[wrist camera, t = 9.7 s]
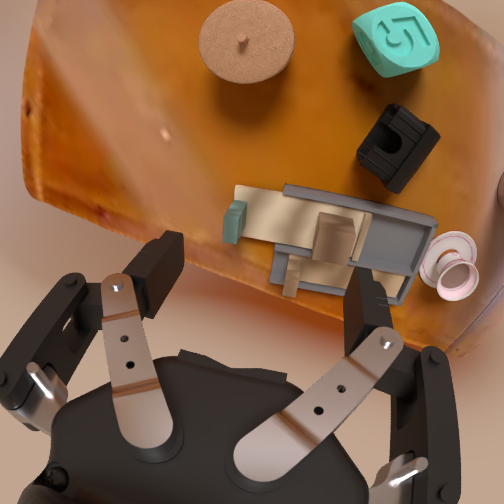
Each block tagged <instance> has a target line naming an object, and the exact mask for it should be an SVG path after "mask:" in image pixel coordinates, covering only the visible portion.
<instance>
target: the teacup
mask: <svg viewBox="0 0 504 504" xmlns="http://www.w3.org/2000/svg"><path fill="white" fill-rule="evenodd" d="M448 249H454V250H456V251H458V253H459V254H458V253H455V252H452V253H448V254H446V255H444V256H443V257H442V258H441V259H440V260H439V262H438V264H437V259H438V257H439V256H440V254H441V253H442V252H444V251H445V250H448ZM476 258H477V247H476V245H475V243H474V241H473V239H472V238H471V237H470V236H469V235H468V234H466V233H463V232H460V231H449V232H446V233H444V234H441V235H439V236H438V237H436V238H435V239H433V240H432V241H431V244H430V246H429V248H428V251H427V253H426V255H425V257H424V260H423V262H422V264H421V266H420V268H419V273H420V277H421V278H422V280H423V281H424V283H426V284H427V285H429V286H430V287H433V288H437V292H438V294H439V295H440V296H441V297H442V298H443V299H445V300H448V301H457V300H461V299H464V298H466V297H467V296H469V295H470V294H471V293H472V292H473V291H474V290H475V288H476V287H477V285H478V281H479V273H478V270H477V269H476V267H475V266H474V265H475V262H476Z"/></svg>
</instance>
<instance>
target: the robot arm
mask: <svg viewBox="0 0 504 504" xmlns="http://www.w3.org/2000/svg"><path fill="white" fill-rule="evenodd" d="M498 199H499V203H500V205H501V207H502V209H503V210H504V174H503V175H502V177H501V180H500V183H499V187H498ZM183 267H184V239H183V234H182V233H180V232H174V231H169V230H167V231H165V232H164V234H163V235H162V236H161V237H160V238H159V239H153V240H152V241H150V242H148V243H146V245H145V246H144V247H143V248H142V249H141V251H140V252H139V253H138V254H137V256H136V257H134V259H133V260H132V261H131V262H130V263H129V264H128V266H127V267H126V268H125V269H124V271H123V272H122V273H116V274H112V275H109V276H107V277H106V278H105V279H104V280H103V281H102V283H86V280H85V277H84V275H82V274H81V273H70V274H67V275H65V276H63V277H62V278H61V279H60V280H59V281H58V282H57V284H56V285H55V286H54V287H53V288H52V289H51V291H50V292H49V293H48V294H47V296H46V297H45V298H44V299H43V300H42V302H41V303H40V304H39V306H38V307H37V308H36V309H35V311H34V312H33V313H32V315H31V316H30V317H29V318H28V320H27V321H26V322H25V324H24V325H23V326H22V328H21V329H20V331H19V332H18V333H17V335H16V336H15V338H14V339H13V340H12V342H11V343H10V345H9V346H8V348H7V349H6V351H5V352H4V354H3V355H2V356H1V358H0V403H1V405H2V406H3V407H4V408H5V409H6V410H7V411H8V412H9V413H10V414H11V415H12V416H13V417H14V418H16V419H17V420H18V421H20V422H21V423H23V424H24V425H25V426H26V427H27V428H28V429H30V430H32V431H42V432H44V433H45V434H48V435H49V436H51V450H50V456H49V461H48V464H47V466H46V468H45V469H44V470H43V472H42V473H41V474H40V475H39V476H38V477H37V478H36V479H35V480H34V481H33V482H32V483H30V484H29V485H28V486H27V487H26V488H25V489H24V490H23V492H22V494H21V496H20V498H19V501H18V503H17V504H457V503H458V501H459V499H460V495H461V458H460V440H459V429H458V419H457V410H456V403H455V396H454V389H453V383H452V377H451V372H450V367H449V362H448V358H447V356H446V355H445V353H444V352H443V351H442V350H440V349H439V348H437V347H434V346H427V347H425V348H424V349H423V350H422V351H421V352H419V351H416V350H414V349H412V348H409V347H407V346H405V345H404V344H403V339H402V337H401V336H400V334H399V333H398V332H396V331H395V330H394V329H393V324H392V318H391V313H390V308H389V307H388V306H389V304H388V300H387V294H386V290H385V288H384V287H383V286H382V284H381V283H380V282H379V281H374V279H373V274H372V270H371V269H369V268H364V267H358V266H355V267H354V269H353V272H352V275H351V278H350V280H349V283H348V286H347V289H346V291H345V295H344V300H343V313H344V342H345V343H344V345H345V346H344V348H345V356H344V357H343V358H342V359H341V360H340V361H339V362H338V363H336V365H334V366H333V367H332V368H331V369H330V370H329V371H328V372H327V373H326V374H325V375H324V376H322V377H321V378H320V379H319V380H318V381H317V382H316V383H315V384H313V385H312V386H311V387H310V388H309V389H308V390H307V391H305V392H303V391H302V390H301V389H300V388H298V387H297V386H295V385H293V384H292V383H289V382H287V381H286V378H287V373H282V372H277V371H272V370H267V369H261V368H230V367H227V366H225V365H223V364H221V363H219V362H217V361H215V360H213V359H211V358H209V357H207V356H205V355H200V354H197V353H193V352H189V351H186V350H182V349H181V350H180V352H179V354H178V356H167V357H161V358H158V359H155V360H152V358H151V354H150V351H149V347H148V343H147V340H146V336H145V333H144V329H143V325H142V320H143V318H144V317H147V318H150V319H154V317H155V315H156V313H157V312H158V310H159V309H160V307H161V305H162V304H163V302H164V300H165V298H166V297H167V295H168V294H169V292H170V290H171V289H172V287H173V285H174V284H175V282H176V280H177V279H178V277H179V276H180V274H181V272H182V270H183ZM69 318H71V320H70V322H69V323H68V324H67V326H66V328H65V329H64V330H63V327H64V325H65V324H66V322H67V321H68V319H69ZM98 330H103V337H104V344H105V351H106V357H107V363H108V367H109V374H110V380H111V381H110V382H108V383H106V384H104V385H102V386H100V387H98V388H96V389H94V390H92V391H90V392H88V393H86V394H84V395H82V396H80V397H78V398H76V399H74V400H71V401H69V402H68V403H67V398H68V390H67V387H66V386H67V384H68V382H69V380H70V379H71V377H72V375H73V373H74V371H75V370H76V368H77V365H78V364H79V362H80V361H81V359H82V357H83V355H84V354H85V352H86V350H87V348H88V347H89V345H90V343H91V342H92V340H93V338H94V337H95V335H96V333H97V332H98ZM373 388H375V389H377V390H379V391H382V392H385V393H387V394H389V395H391V435H390V436H391V437H390V456H389V463H387V464H386V465H384V466H383V467H381V469H380V470H379V471H378V473H377V475H376V479H375V482H374V484H373V485H372V487H371V488H368V485H367V482H366V480H365V478H364V477H363V475H362V474H361V473H360V471H359V469H358V468H357V467H356V465H355V464H354V462H353V461H352V460H351V458H350V457H349V455H348V454H347V452H346V451H345V449H344V448H343V446H342V445H341V443H340V442H339V441H338V439H337V438H336V436H335V435H334V432H335V431H336V430H337V428H338V427H339V426H340V425H341V424H342V423H343V422H344V421H345V420H346V419H347V418H348V417H349V416H350V415H351V413H352V412H353V411H354V410H355V409H356V408H357V407H358V406H359V404H360V403H361V402H362V401H363V400H364V399H365V398H366V397H367V395H368V394H369V393H370V392H371V391H372V389H373Z"/></svg>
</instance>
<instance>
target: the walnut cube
mask: <svg viewBox="0 0 504 504" xmlns="http://www.w3.org/2000/svg"><path fill="white" fill-rule="evenodd" d="M355 238H356V231H355V227H354V222H353V218H349V217H344V216H339V215H334V214H329V213H324V212H319V216H318V220H317V225H316V229H315V234H314V238H313V247H312V260H317V261H322V262H327V263H332V264H338V265H343V266H347V263H348V260H349V257H350V254H351V251H352V248H353V245H354V242H355Z"/></svg>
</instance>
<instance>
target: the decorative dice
mask: <svg viewBox="0 0 504 504" xmlns="http://www.w3.org/2000/svg"><path fill="white" fill-rule="evenodd" d="M352 29H353V32H354V35H355V37H356V39H357V41H358V43H359V45H360V47H361V49H362V51H363V52H364V54H365V56H366V57H367V59H368V61H369V62H370V64H371V65H372V66H373V68H374V69H375V70H376V72H377V73H378V74H379V75H380V76H382V77H384V78H388V77H393V76H397V75H400V74H404V73H407V72H410V71H413V70H416V69H419V68H422V67H425V66H428V65H430V64H433V63H435V62H437V60H438V57H439V53H440V48H439V43H438V39H437V37H436V34H435V32H434V30H433V28H432V26H431V24H430V23H429V21H428V20H427V18H426V17H425V16H424V15H423V14H422V13H421V12H420V11H419V10H418V9H417V8H415V7H414V6H412V5H410V4H408V3H405V2H398V3H393V4H389V5H386V6H383V7H380V8H377V9H375V10H372V11H370V12H368V13H365V14H363V15H362V16H360V17H358V18H356V19H355V20H354V21H353V23H352Z"/></svg>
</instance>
